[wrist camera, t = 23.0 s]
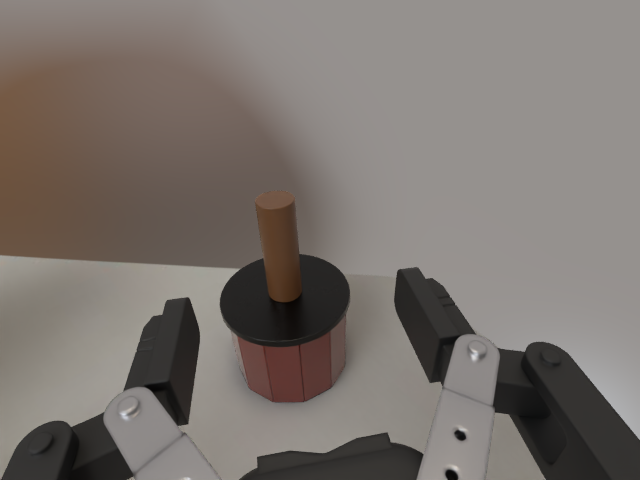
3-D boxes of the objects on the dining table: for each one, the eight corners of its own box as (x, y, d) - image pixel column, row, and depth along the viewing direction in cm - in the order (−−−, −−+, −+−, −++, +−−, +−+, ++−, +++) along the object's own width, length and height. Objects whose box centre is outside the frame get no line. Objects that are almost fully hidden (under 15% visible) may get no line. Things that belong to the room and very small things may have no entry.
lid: (370, 280, 30) (376, 184, 25) (305, 370, 23) (296, 261, 18) (273, 247, 34) (262, 160, 30) (192, 315, 27) (161, 215, 23)
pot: (361, 339, 34) (364, 280, 30) (309, 423, 27) (304, 362, 23) (281, 305, 38) (274, 250, 34) (218, 371, 31) (201, 313, 27)
